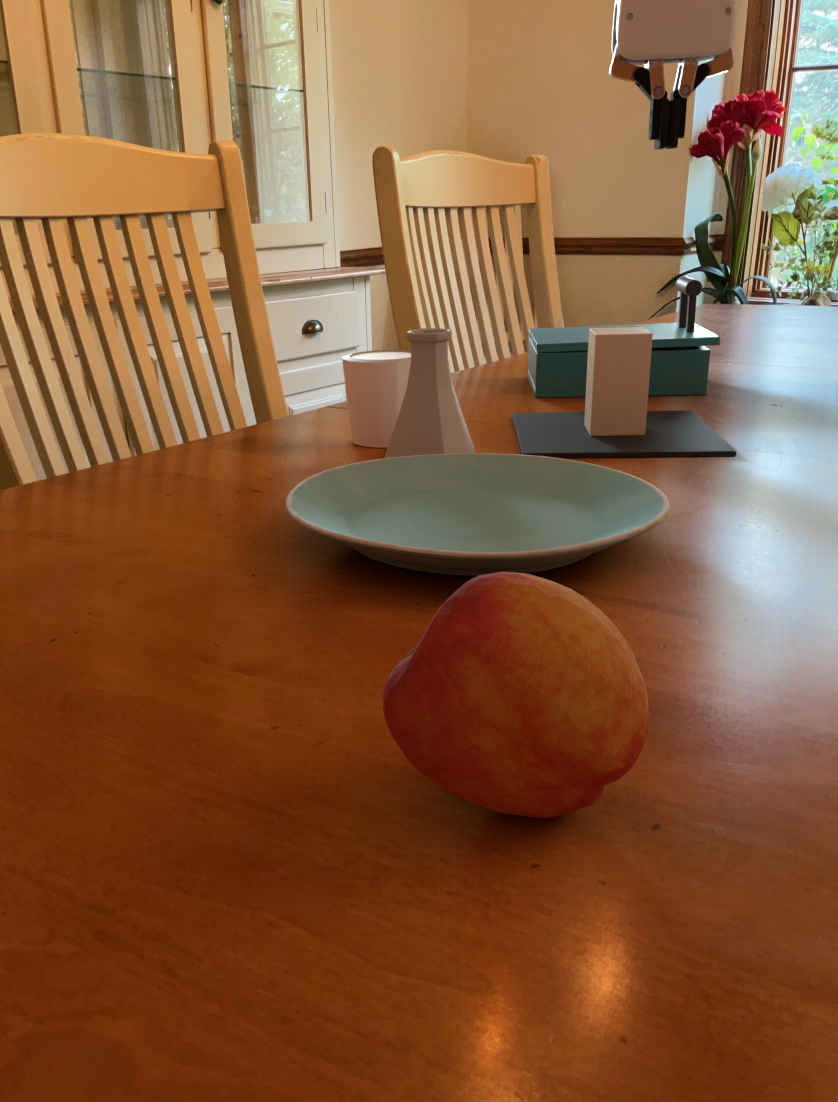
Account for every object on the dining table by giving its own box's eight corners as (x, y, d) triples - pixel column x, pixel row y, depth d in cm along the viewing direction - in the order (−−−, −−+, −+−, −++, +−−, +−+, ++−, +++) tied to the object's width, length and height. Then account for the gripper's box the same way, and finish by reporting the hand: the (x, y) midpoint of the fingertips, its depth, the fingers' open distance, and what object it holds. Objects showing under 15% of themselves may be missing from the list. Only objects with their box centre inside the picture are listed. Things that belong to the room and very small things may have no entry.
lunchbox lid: (692, 329, 112) (696, 272, 109) (719, 345, 100) (724, 281, 98) (528, 336, 113) (529, 280, 111) (536, 352, 102) (537, 290, 100)
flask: (494, 462, 79) (497, 326, 75) (452, 485, 73) (452, 338, 70) (410, 454, 83) (408, 323, 79) (364, 474, 77) (359, 335, 73)
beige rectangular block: (636, 424, 88) (643, 326, 85) (645, 435, 84) (652, 333, 81) (584, 425, 89) (589, 328, 86) (590, 436, 85) (595, 334, 82)
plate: (542, 475, 75) (543, 436, 74) (751, 565, 56) (757, 514, 55) (244, 514, 68) (241, 471, 67) (368, 633, 49) (367, 576, 48)
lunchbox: (681, 374, 114) (684, 333, 112) (706, 394, 102) (710, 349, 100) (527, 376, 115) (528, 336, 113) (535, 397, 103) (536, 353, 102)
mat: (692, 414, 93) (692, 410, 93) (736, 456, 79) (736, 450, 79) (512, 417, 95) (512, 412, 95) (522, 458, 80) (522, 453, 80)
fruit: (484, 720, 41) (487, 522, 38) (678, 787, 36) (701, 566, 33) (349, 805, 35) (340, 582, 32) (556, 898, 30) (569, 646, 27)
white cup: (380, 453, 83) (378, 363, 80) (328, 440, 88) (324, 355, 85) (443, 439, 87) (443, 353, 84) (389, 428, 92) (387, 346, 89)
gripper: (759, -85, 91) (739, 146, 98) (586, -73, 93) (578, 154, 100) (784, -108, 84) (760, 142, 91) (596, -95, 86) (587, 151, 93)
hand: (665, 148), depth 96 cm, fingers closed
